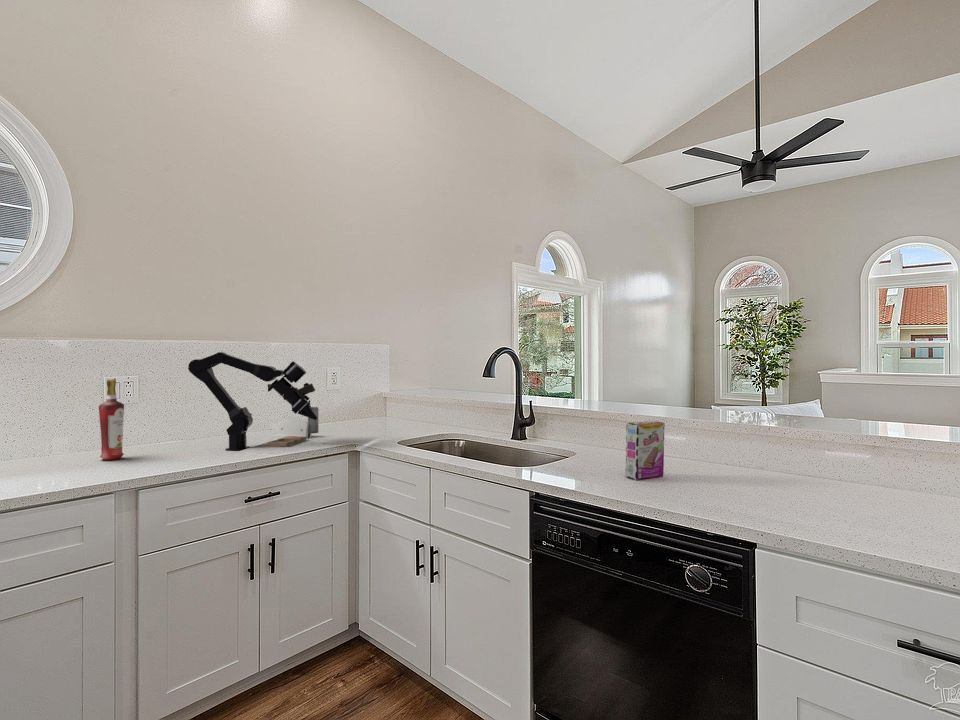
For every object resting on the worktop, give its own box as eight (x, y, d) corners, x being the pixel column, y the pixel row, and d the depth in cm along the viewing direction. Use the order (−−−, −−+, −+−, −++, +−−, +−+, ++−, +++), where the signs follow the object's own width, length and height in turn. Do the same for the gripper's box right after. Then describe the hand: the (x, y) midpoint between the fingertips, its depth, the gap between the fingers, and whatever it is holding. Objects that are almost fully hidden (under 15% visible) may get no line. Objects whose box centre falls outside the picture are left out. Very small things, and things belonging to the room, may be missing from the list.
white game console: (271, 439, 226) (277, 416, 229) (278, 441, 230) (284, 419, 233) (303, 441, 220) (308, 418, 223) (310, 443, 224) (315, 420, 227)
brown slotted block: (286, 449, 202) (286, 442, 202) (267, 449, 203) (266, 442, 203) (306, 442, 218) (306, 436, 218) (288, 442, 219) (288, 435, 219)
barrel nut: (315, 433, 206) (315, 408, 206) (306, 433, 207) (305, 407, 207) (320, 432, 210) (320, 407, 210) (310, 431, 211) (310, 406, 211)
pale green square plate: (318, 448, 204) (318, 445, 204) (298, 447, 205) (298, 445, 205) (327, 444, 212) (327, 442, 212) (308, 444, 213) (308, 442, 213)
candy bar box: (637, 481, 152) (637, 424, 152) (625, 477, 156) (625, 422, 156) (665, 476, 157) (665, 422, 157) (652, 473, 161) (652, 420, 161)
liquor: (112, 456, 188) (111, 378, 188) (129, 457, 187) (129, 378, 186) (93, 460, 181) (92, 379, 181) (112, 461, 180) (111, 379, 179)
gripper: (301, 377, 198) (331, 406, 201) (303, 375, 216) (331, 401, 219) (278, 398, 196) (310, 427, 199) (283, 395, 214) (312, 421, 217)
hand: (316, 418), depth 209 cm, fingers closed on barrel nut, 4 cm apart
